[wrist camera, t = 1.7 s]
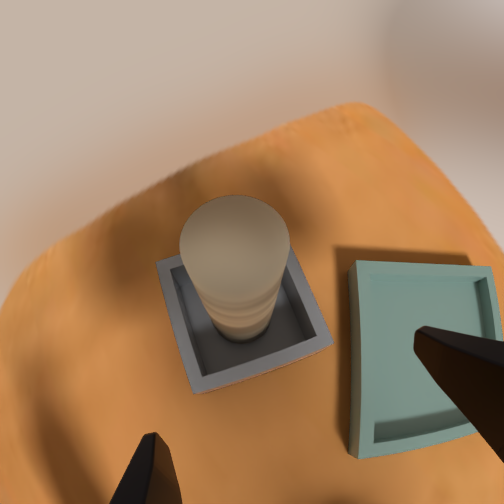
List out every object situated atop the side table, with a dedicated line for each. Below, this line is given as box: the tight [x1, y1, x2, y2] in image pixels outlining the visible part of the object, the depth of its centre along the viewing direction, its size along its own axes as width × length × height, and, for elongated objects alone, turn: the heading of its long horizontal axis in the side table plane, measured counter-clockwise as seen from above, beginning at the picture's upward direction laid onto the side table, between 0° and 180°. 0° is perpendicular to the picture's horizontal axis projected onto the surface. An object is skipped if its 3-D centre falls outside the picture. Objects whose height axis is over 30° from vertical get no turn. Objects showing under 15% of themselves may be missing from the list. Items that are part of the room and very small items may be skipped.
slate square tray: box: [156, 245, 334, 394], centre depth 20 cm, size 9×9×4 cm
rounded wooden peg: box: [179, 195, 290, 344], centre depth 16 cm, size 4×4×11 cm
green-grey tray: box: [347, 260, 503, 459], centre depth 19 cm, size 14×14×2 cm
